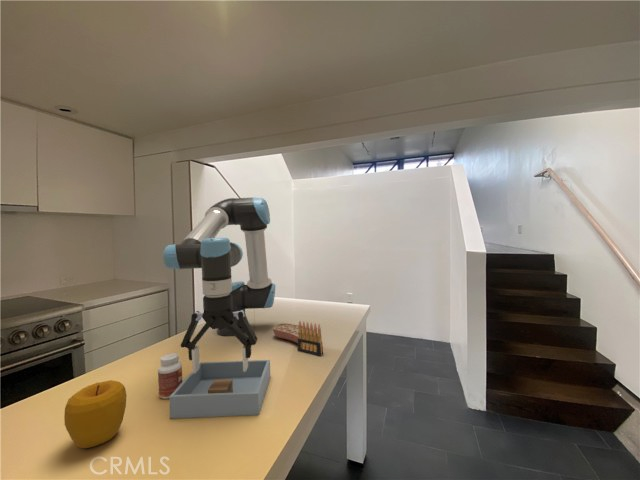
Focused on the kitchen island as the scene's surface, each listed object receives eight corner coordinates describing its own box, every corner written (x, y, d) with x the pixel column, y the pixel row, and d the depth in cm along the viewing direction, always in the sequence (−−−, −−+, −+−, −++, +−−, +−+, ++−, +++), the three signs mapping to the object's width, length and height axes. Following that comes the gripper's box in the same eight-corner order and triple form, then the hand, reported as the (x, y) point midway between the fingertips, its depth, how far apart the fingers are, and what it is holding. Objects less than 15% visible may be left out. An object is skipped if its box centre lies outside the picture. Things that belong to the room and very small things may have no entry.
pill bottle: (183, 394, 79) (182, 357, 79) (159, 402, 76) (158, 363, 76) (181, 385, 84) (180, 350, 84) (158, 392, 81) (157, 355, 81)
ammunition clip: (323, 354, 103) (322, 323, 103) (320, 356, 101) (319, 325, 101) (300, 349, 108) (299, 319, 108) (297, 351, 107) (296, 321, 107)
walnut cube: (215, 397, 76) (214, 379, 76) (233, 396, 77) (232, 379, 76) (208, 408, 71) (207, 390, 71) (227, 407, 72) (226, 389, 71)
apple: (76, 469, 54) (73, 406, 54) (58, 447, 60) (55, 390, 60) (136, 434, 64) (134, 380, 63) (116, 418, 69) (114, 369, 69)
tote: (200, 379, 88) (200, 362, 87) (270, 376, 88) (269, 359, 88) (170, 418, 69) (169, 396, 69) (258, 414, 69) (258, 393, 69)
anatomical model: (269, 338, 121) (268, 327, 121) (285, 332, 129) (284, 321, 129) (307, 351, 107) (306, 339, 106) (322, 343, 114) (322, 331, 114)
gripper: (164, 299, 70) (168, 379, 71) (260, 296, 70) (263, 375, 71) (178, 292, 77) (182, 364, 78) (265, 289, 78) (268, 361, 79)
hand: (221, 370), depth 75 cm, fingers open, 13 cm apart
